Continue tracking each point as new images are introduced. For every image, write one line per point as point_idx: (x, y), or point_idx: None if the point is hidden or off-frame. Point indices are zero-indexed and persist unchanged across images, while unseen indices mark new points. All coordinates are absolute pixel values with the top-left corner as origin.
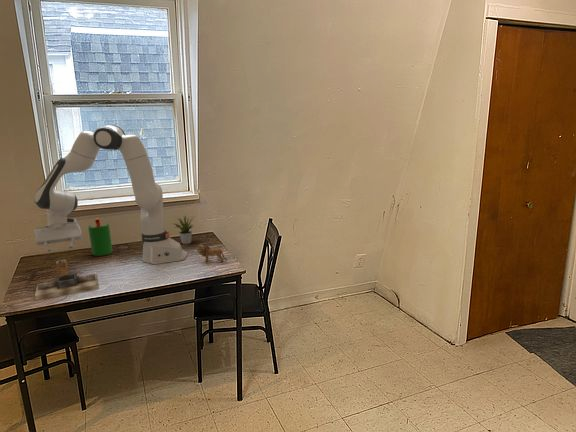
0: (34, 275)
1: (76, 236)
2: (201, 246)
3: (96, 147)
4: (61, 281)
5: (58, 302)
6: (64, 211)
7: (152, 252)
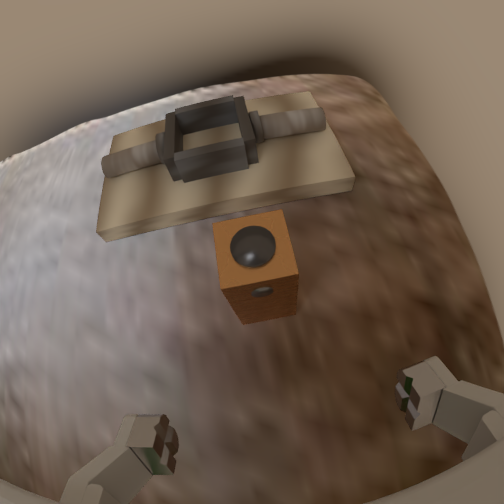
0: None
1: (20, 489)
2: None
3: None
4: (222, 98)
5: (232, 87)
6: None
7: None
